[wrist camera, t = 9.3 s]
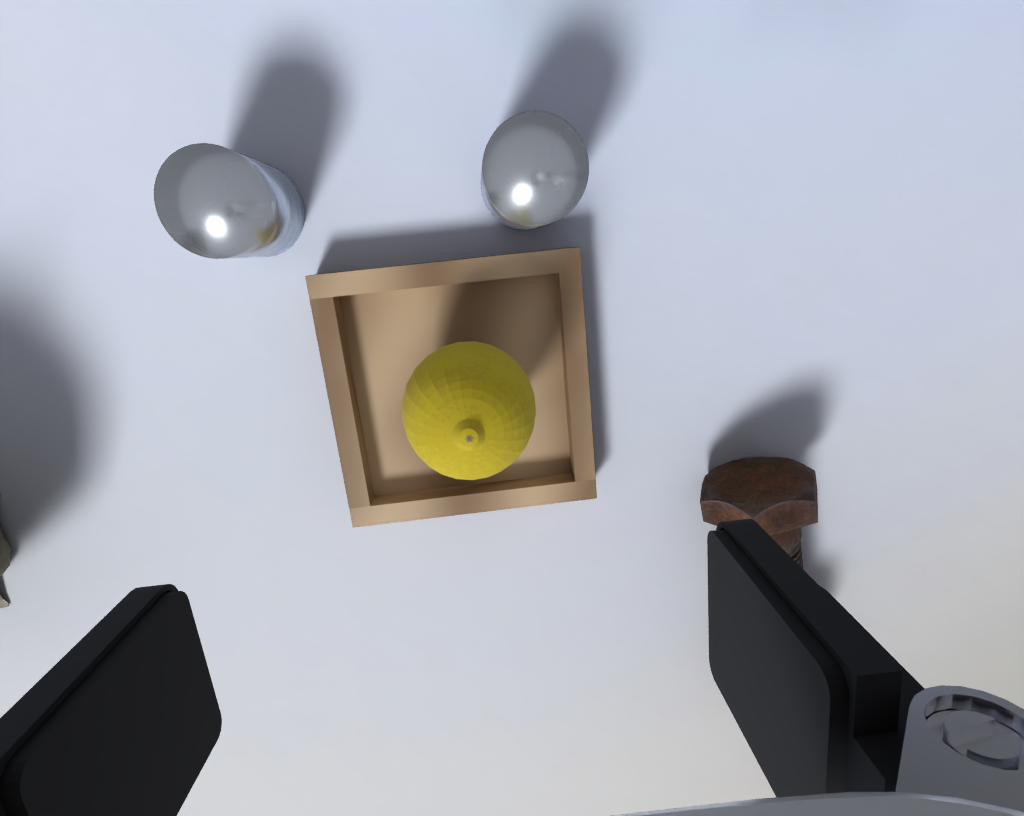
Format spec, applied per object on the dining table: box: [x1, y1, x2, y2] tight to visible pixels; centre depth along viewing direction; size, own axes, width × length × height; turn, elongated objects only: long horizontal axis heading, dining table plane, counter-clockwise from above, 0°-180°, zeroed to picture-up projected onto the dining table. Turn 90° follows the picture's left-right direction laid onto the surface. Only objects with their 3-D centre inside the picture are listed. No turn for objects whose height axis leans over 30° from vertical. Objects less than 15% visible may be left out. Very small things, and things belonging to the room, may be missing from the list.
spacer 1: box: [154, 143, 304, 259], centre depth 24 cm, size 4×4×5 cm
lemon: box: [402, 341, 536, 480], centre depth 25 cm, size 6×6×8 cm
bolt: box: [700, 457, 818, 569], centre depth 31 cm, size 6×5×15 cm
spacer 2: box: [481, 111, 589, 230], centre depth 25 cm, size 4×4×5 cm
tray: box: [305, 247, 597, 527], centre depth 28 cm, size 12×12×2 cm
